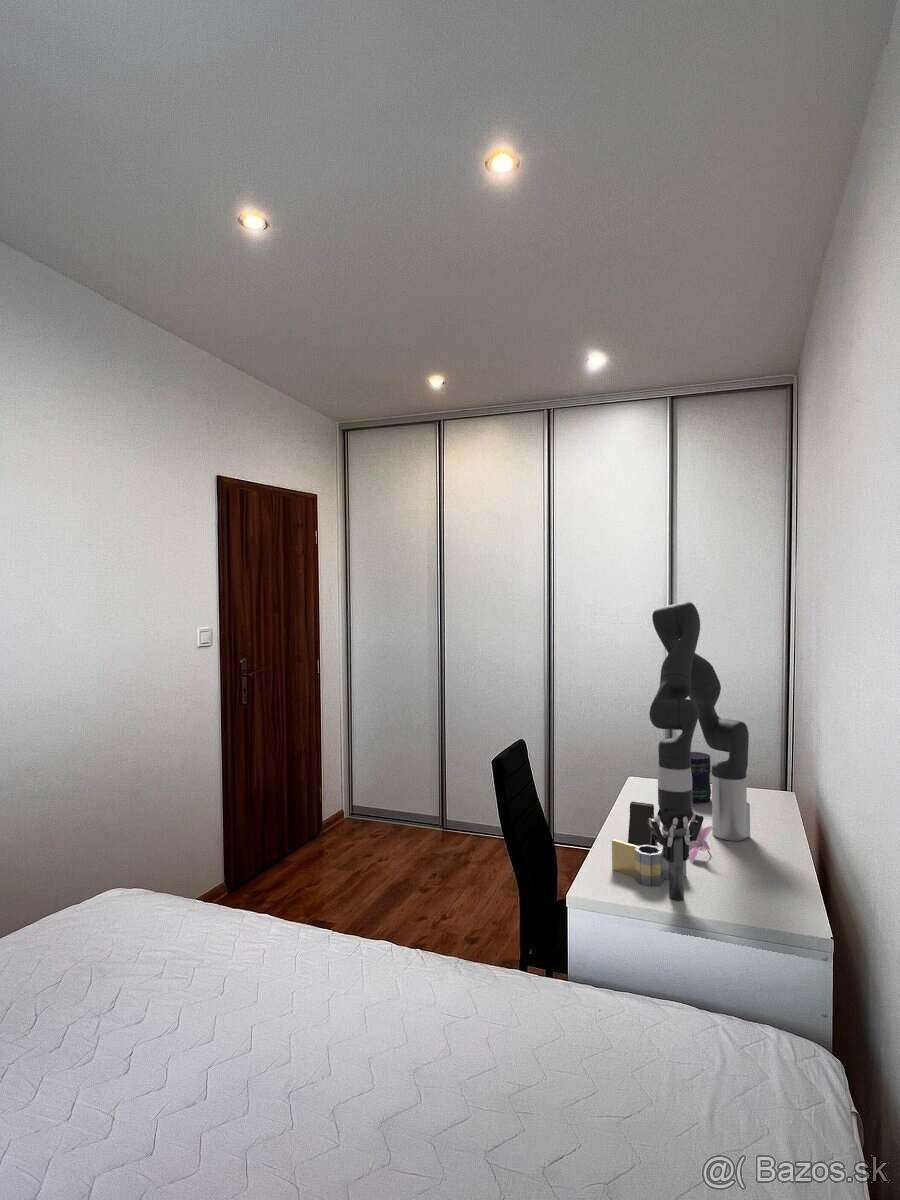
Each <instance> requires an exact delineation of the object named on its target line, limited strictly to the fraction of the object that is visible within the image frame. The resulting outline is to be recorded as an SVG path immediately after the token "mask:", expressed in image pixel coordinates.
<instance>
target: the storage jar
mask: <svg viewBox="0 0 900 1200" xmlns="http://www.w3.org/2000/svg"><path fill="white" fill-rule="evenodd" d="M711 772H712V764H711V755H710V754H708V753H705V752H700V751H699V752H697V751H691V773H692V800H693V804H695V805H705V804H709V803H712V784H711V781H710V779H711V775H710V774H711Z"/></svg>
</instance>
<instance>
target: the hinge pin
mask: <svg viewBox="0 0 900 1200" xmlns="http://www.w3.org/2000/svg"><path fill="white" fill-rule="evenodd" d="M669 830H670V829H667V828H665V831H667V832H669ZM686 834H687V829H686V828H683V827H680V828H676V829H673V836H674V837H673V841H672V847H673V862H672V863H669V879H668V893H669V895H668V896H669V899H671V900H672V901H676V902H680V901H684V900H685V885H684V884H685V881H684V880H685V877H684V864H683V836H685V835H686Z"/></svg>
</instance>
